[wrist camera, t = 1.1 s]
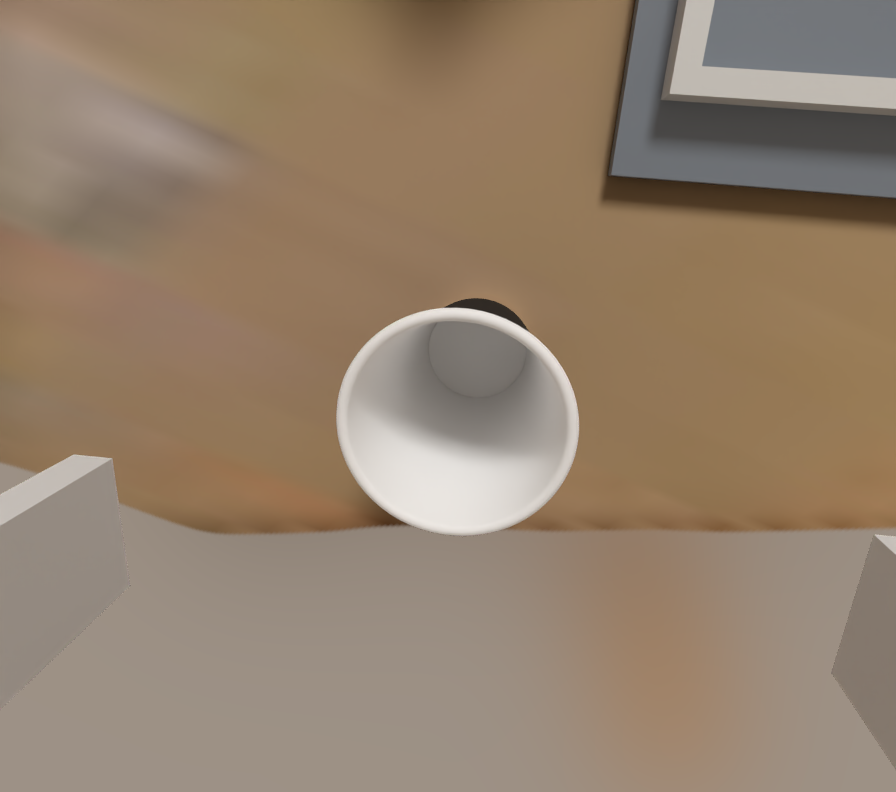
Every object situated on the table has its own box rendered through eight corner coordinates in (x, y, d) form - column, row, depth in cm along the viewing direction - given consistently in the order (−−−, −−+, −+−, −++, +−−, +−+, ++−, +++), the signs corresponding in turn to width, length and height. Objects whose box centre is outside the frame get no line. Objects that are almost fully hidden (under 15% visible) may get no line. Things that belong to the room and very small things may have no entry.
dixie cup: (560, 419, 30) (581, 536, 20) (408, 426, 31) (352, 539, 21) (556, 261, 27) (577, 300, 17) (391, 274, 29) (317, 317, 18)
